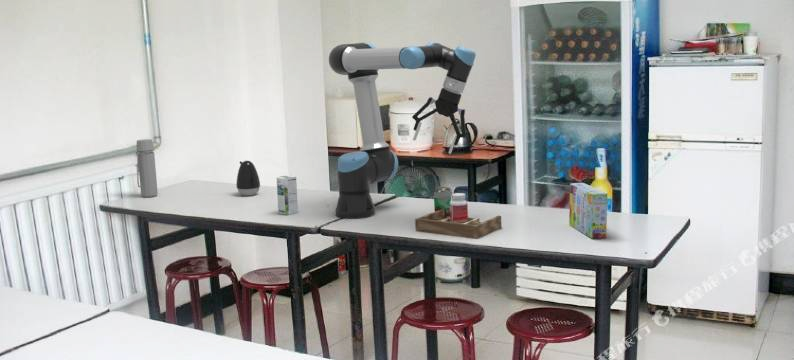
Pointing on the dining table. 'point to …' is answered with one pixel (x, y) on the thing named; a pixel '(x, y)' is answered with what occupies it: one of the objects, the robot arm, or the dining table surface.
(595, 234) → the snack box
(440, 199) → the food container
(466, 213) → the pill bottle
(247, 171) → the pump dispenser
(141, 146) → the water bottle
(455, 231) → the walled tray
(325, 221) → the dining table surface
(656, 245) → the dining table surface
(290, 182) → the syrup box
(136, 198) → the dining table surface
